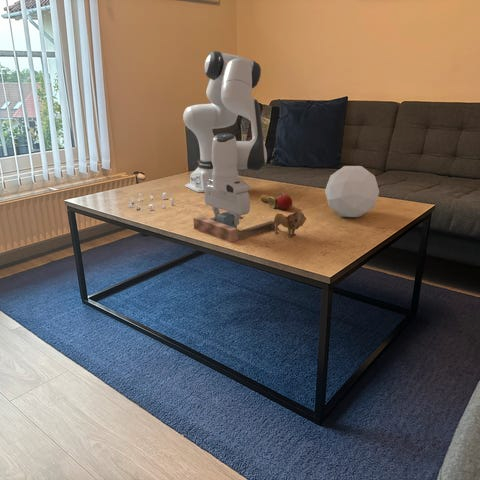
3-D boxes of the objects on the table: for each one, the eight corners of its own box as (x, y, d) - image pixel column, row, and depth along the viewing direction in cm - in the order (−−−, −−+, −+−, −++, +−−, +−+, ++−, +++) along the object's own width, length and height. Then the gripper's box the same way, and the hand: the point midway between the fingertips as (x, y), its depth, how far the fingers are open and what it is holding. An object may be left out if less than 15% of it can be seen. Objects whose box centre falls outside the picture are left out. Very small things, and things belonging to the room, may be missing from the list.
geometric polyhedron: (342, 236, 173) (316, 199, 164) (340, 204, 188) (316, 168, 178) (390, 216, 165) (365, 176, 155) (384, 184, 179) (361, 146, 170)
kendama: (254, 206, 194) (280, 210, 179) (255, 191, 194) (281, 194, 178) (269, 206, 199) (296, 210, 183) (270, 191, 198) (297, 194, 183)
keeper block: (216, 231, 161) (216, 214, 159) (229, 227, 165) (229, 211, 163) (224, 233, 158) (223, 217, 156) (237, 229, 162) (236, 213, 160)
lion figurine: (308, 236, 154) (308, 210, 151) (299, 241, 150) (300, 214, 147) (272, 228, 163) (272, 203, 160) (263, 232, 159) (263, 207, 156)
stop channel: (194, 228, 164) (193, 217, 163) (237, 215, 177) (237, 205, 176) (231, 242, 150) (230, 230, 149) (275, 227, 164) (275, 216, 162)
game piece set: (157, 196, 209) (156, 188, 208) (184, 204, 195) (183, 195, 194) (119, 205, 196) (118, 196, 195) (145, 214, 183) (144, 205, 181)
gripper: (199, 179, 161) (201, 217, 166) (238, 189, 147) (239, 230, 152) (213, 177, 165) (214, 213, 170) (252, 186, 151) (253, 226, 156)
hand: (226, 221), depth 161 cm, fingers open, 8 cm apart
